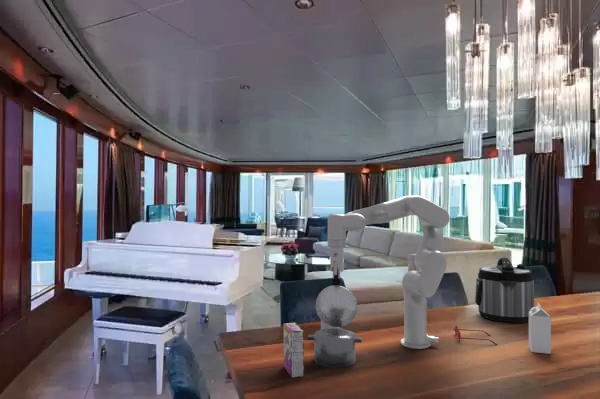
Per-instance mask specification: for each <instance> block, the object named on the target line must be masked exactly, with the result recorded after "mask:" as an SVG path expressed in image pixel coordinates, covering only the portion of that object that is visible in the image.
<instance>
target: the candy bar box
mask: <svg viewBox="0 0 600 399" xmlns="http://www.w3.org/2000/svg"><path fill="white" fill-rule="evenodd" d="M282 327H283V367H284V369H285V370H286V372H287V373H288V374H289V377H290V378H291V379H294V378H300V377H304V376H305V371H304V370H305V369H304V368H305V366H304V362H305V361H304V360H305V359H304V353H305V352H304V351H305V350H304V349H305V348H304V347H305V346H304V330H303V329H302V328H301V327H300V326H299V325H298V324H297V323H296V322H286V323H283V326H282Z"/></svg>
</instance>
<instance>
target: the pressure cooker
mask: <svg viewBox="0 0 600 399" xmlns="http://www.w3.org/2000/svg"><path fill="white" fill-rule="evenodd" d="M496 264H497V265H495V266H483V267H480V268H479V271H478V272H477V278H476V280H475V296H474V297H475V298H474V300H475V304H476V306H478V307H477V308H478V312H479V314H480V316H481V317H484V318H485V319H489V320H491V321H497V322H506V323H507V322H512V323H525V322H526V321H527V322H529V311H530V309H531V308H533V307H535V279H534V278H535V277H534V275H533V271H532V270H530V269H527V268H526V266H525V264H523V263H518V264H516V267H514V266H513V264H512V262H511V261H510V259H509V258H507V257H500V258H499V260H497V263H496Z"/></svg>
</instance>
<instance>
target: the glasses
mask: <svg viewBox="0 0 600 399" xmlns="http://www.w3.org/2000/svg"><path fill="white" fill-rule="evenodd" d="M452 330H453V331H454V334H455V336H456V337H457V339H458V343H461V339H463V340H481V341H482V340H483V341H489V342H491V343H493V344H494V345H495V346H498V343H496V342H495V341H493V340H492V339H488V338H473V337H461V331H465V328H462V329H460V328H459V327H458V326H457V325H455V327H454V328H453V329H452ZM466 331H469V332H483V333H484V334H486V335H487V336H490V337H491V334H489V333H488V332H486V331H484V330H478V329H477V330H476V329H466Z"/></svg>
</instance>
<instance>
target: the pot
mask: <svg viewBox="0 0 600 399" xmlns="http://www.w3.org/2000/svg"><path fill="white" fill-rule="evenodd" d="M307 335H308V336H307V341H314V343H313V348H314V351H313V356H314V358H313V359H314V362H315V364H317V365H319V366H322V367H325V368H329V369H330V368H331V369H332V368H333V369H334V368H335V369H339V368H340V369H341V368H342V369H343V368H347V367H350V366H353V365H354V364H355V363H356V343H362V342H363V339H362V337H363V336H356V334H355V332H353V331H351V330H349V329H345V328H343V327H339V328H331V327H330V329H322V330H321V329H319V330H317V331H315V332H314V334H307Z"/></svg>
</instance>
